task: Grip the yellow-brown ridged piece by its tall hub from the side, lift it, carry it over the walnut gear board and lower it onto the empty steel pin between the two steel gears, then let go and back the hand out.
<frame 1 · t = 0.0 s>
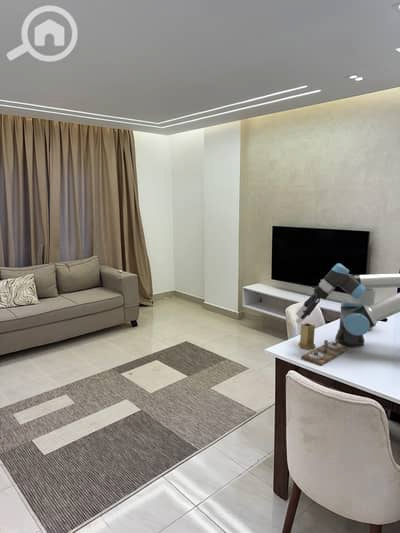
hand: (297, 319, 199), 15 cm above the table, tool tilted 35°, fingers open, 13 cm apart
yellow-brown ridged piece: (306, 346, 202), on the table
cylinder vase: (360, 328, 232), on the table
gear board: (325, 354, 190), on the table
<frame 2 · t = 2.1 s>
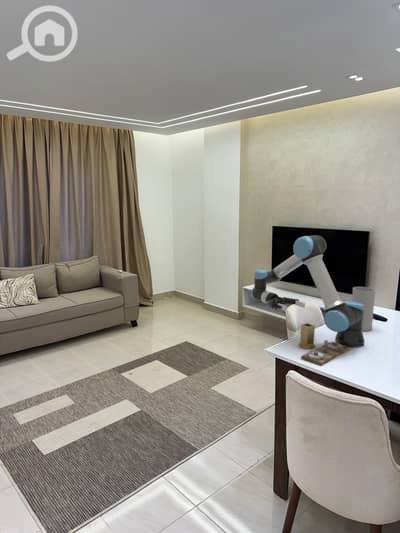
hand: (295, 307, 206), 20 cm above the table, tool horizontal, fingers open, 13 cm apart
nothing on the table moved.
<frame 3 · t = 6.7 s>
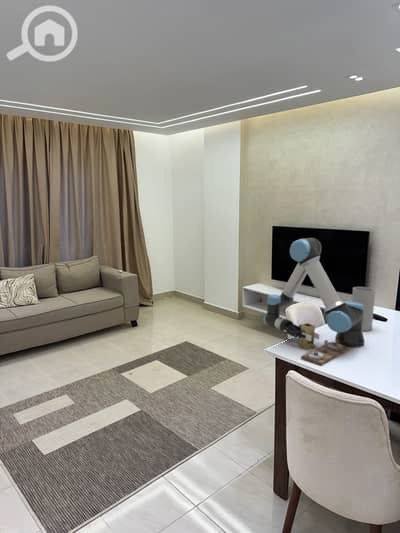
hand: (314, 337, 196), 7 cm above the table, tool horizontal, fingers closed on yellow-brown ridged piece, 5 cm apart
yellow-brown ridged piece: (306, 346, 202), on the table, touching gripper
everything else where it was.
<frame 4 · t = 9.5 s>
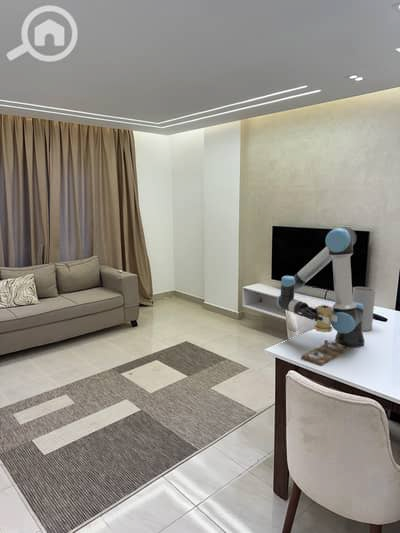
hand: (332, 320, 184), 20 cm above the table, tool horizontal, fingers closed on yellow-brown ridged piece, 5 cm apart
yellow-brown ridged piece: (323, 329, 189), point 13 cm above the table, touching gripper
everything else where it was.
when the fingers open (10 cm above the table, at t = 12.4 s): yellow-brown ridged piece drops 1 cm, resting on gear board.
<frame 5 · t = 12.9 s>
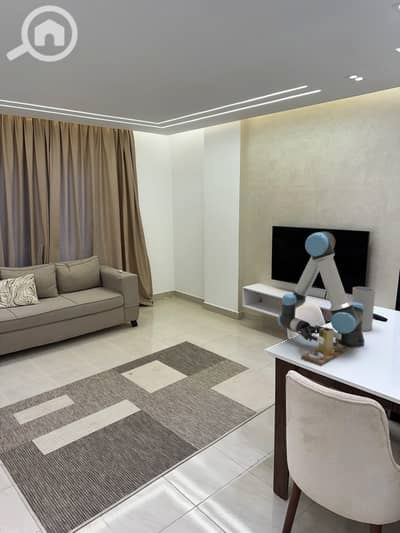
hand: (332, 339, 186), 10 cm above the table, tool horizontal, fingers open, 12 cm apart
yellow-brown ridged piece: (325, 351, 190), point 1 cm above the table, touching gear board
everything else where it was.
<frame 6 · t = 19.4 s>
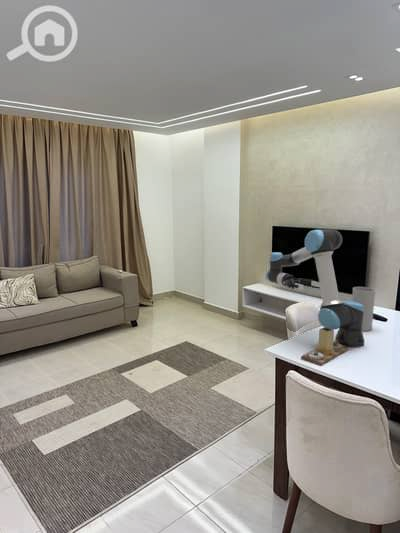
hand: (312, 286, 211), 30 cm above the table, tool horizontal, fingers open, 13 cm apart
nothing on the table moved.
at the end: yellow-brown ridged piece 0.0 cm off-centre on the gear board, point 1.5 cm above the gear board's base; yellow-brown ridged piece tilted 0°; the gripper is holding nothing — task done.
